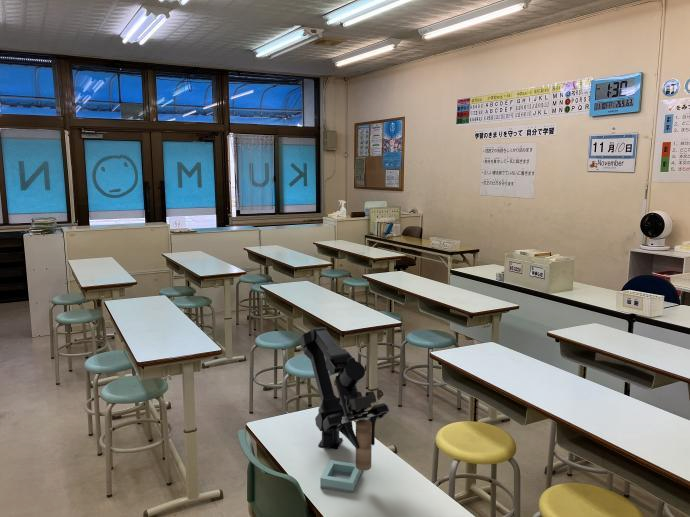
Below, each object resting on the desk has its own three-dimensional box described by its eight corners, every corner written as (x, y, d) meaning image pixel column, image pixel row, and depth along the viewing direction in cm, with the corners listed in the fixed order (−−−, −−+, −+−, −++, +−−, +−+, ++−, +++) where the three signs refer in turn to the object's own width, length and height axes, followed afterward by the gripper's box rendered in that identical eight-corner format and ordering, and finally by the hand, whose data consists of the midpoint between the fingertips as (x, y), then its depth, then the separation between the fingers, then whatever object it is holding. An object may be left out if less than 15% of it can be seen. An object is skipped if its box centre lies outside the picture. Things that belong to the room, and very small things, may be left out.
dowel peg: (358, 460, 153) (358, 418, 151) (373, 463, 152) (373, 420, 149) (353, 468, 149) (353, 425, 147) (368, 471, 148) (369, 428, 145)
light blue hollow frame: (333, 462, 163) (333, 453, 162) (364, 467, 160) (364, 458, 160) (320, 487, 150) (320, 478, 150) (353, 493, 148) (352, 483, 147)
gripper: (326, 388, 145) (343, 446, 138) (386, 376, 153) (406, 430, 146) (315, 403, 154) (331, 458, 146) (373, 391, 162) (391, 442, 154)
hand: (365, 446), depth 148 cm, fingers closed on dowel peg, 4 cm apart
